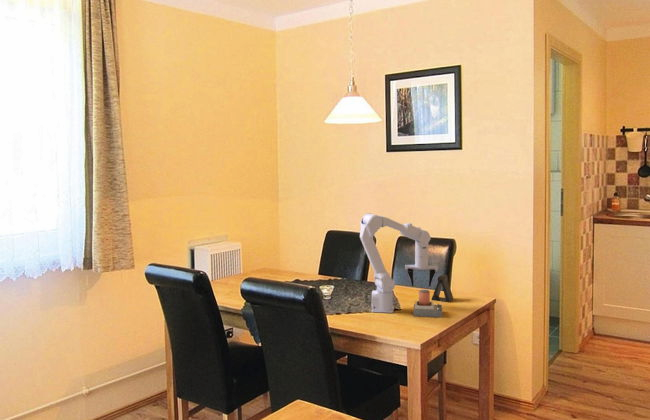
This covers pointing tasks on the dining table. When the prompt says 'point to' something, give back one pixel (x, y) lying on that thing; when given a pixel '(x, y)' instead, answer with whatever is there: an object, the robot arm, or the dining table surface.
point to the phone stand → (446, 288)
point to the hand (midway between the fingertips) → (421, 285)
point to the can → (424, 297)
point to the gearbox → (427, 310)
